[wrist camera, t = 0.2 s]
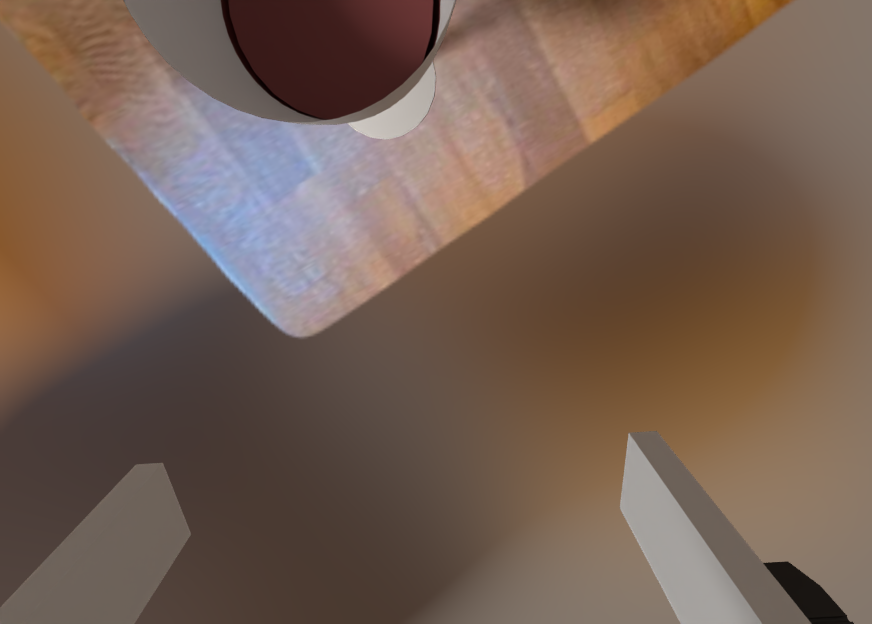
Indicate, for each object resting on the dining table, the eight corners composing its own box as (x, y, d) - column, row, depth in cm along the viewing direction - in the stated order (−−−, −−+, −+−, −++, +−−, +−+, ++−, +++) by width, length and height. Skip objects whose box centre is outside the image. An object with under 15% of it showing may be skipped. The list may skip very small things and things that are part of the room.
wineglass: (309, 17, 31) (36, -288, 10) (440, 7, 31) (458, -324, 10) (328, 146, 34) (155, 133, 13) (447, 138, 34) (470, 111, 13)
